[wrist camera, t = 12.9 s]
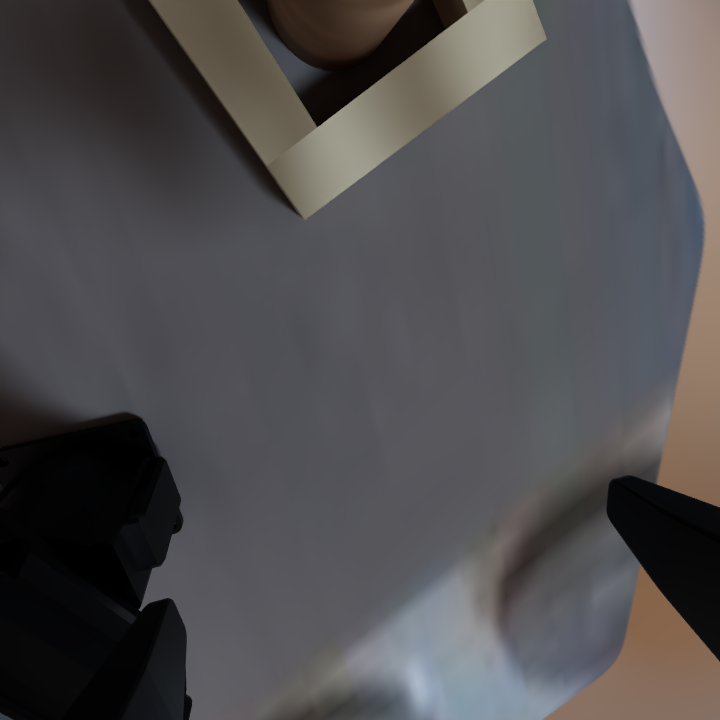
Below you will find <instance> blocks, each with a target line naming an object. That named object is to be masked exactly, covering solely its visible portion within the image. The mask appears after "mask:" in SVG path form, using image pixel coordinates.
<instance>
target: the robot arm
mask: <svg viewBox="0 0 720 720" xmlns="http://www.w3.org/2000/svg"><path fill="white" fill-rule="evenodd" d="M131 428H136V429H138V430H139V432H140V433H133V432H131V430H130V429H131ZM1 457H4V458H6V459H7V460H8V461H9V462H6V461H3V460H2V459H1ZM0 484H1V485H2V487H3V490H2V491H1V492H0V720H189V717H190V713H191V708H192V699H191V697H190V696H188V695H187V694H186V646H187V635H186V629H185V626H184V623H183V621H182V619H181V616H180V614H179V612H178V610H177V607H176V605H175V603H174V601H173V600H172V599H170V598H166V599H163V600H159V601H155V602H152V603H149V604H148V605H147V606H145V607H144V609H143V610H142V611H141V612H140V611H139V610H138V609H139V608H140V607H141V604H142V601H143V598H144V594H145V591H146V588H147V584H148V581H149V577H150V574H151V571H152V568H155V567H159V566H161V565H162V563H163V562H164V560H165V558H166V555H167V551H168V547H169V543H170V540H171V536H172V534H175V533H177V532H179V531H180V530H181V528H182V525H183V517H182V514H181V512H180V509H179V506H180V502H181V498H180V495H179V492H178V490H177V487H176V484H175V482H174V479H173V477H172V474H171V471H170V469H169V466H168V464H167V461H166V460H165V459H164V458H162V457H161V456H160V457H159V455H158V453H157V450H156V447H155V445H154V442H153V440H152V437H151V435H150V432H149V429H148V427H147V425H146V424H145V422H143V421H142V420H138V419H131V420H127V421H122V422H117V423H113V424H108V425H104V426H99V427H94V428H90V429H85V430H80V431H76V432H71V433H66V434H62V435H57V436H53V437H48V438H43V439H39V440H34V441H29V442H25V443H20V444H15V445H11V446H6V447H2V448H0ZM606 511H607V515H608V518H609V520H610V521H611V523H612V524H613V526H614V527H615V529H616V530H617V531H618V533H619V534H620V536H621V537H622V539H623V540H624V541H625V543H626V544H627V546H628V547H629V548H630V550H631V551H632V553H633V554H634V556H635V557H636V558H637V560H638V561H639V563H640V564H641V565H642V567H643V568H644V570H645V571H646V572H647V574H648V575H649V576H650V578H651V579H652V581H653V582H654V583H655V585H656V586H657V587H658V589H659V590H660V591H661V592H662V594H663V595H664V596H665V597H666V598H667V600H668V601H669V602H670V603H671V604H672V606H673V607H674V608H675V609H676V610H677V612H678V613H679V614H680V615H681V616H682V617H683V619H684V620H685V621H686V622H687V623H688V624H689V626H690V627H691V628H692V629H693V630H694V632H695V633H696V634H697V635H698V636H699V638H700V639H701V640H702V641H703V642H704V643H705V644H706V646H707V647H708V648H709V649H710V651H711V652H712V653H713V654H714V655H715V656H716V658H717V659H718V660H719V661H720V507H717V506H714V505H712V504H709V503H706V502H703V501H701V500H698V499H695V498H692V497H690V496H687V495H684V494H681V493H678V492H676V491H673V490H670V489H668V488H665V487H662V486H659V485H657V484H654V483H651V482H648V481H646V480H643V479H640V478H637V477H635V476H631V475H626V476H623V477H619V478H615V479H612V480H611V481H610V483H609V487H608V497H607V506H606ZM175 523H176V524H175Z"/></svg>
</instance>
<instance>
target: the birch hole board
mask: <svg viewBox="0 0 720 720" xmlns="http://www.w3.org/2000/svg"><path fill="white" fill-rule="evenodd" d="M148 1H149V2H150V4H151V5H152V7H153V8H154V10H155V11H156V12H157V14H158V15H159V17H160V18H161V19H162V21H163V22H164V24H165V25H166V27H167V28H168V29H169V31H170V32H171V34H172V35H173V37H174V38H175V39H176V41H177V42H178V44H179V45H180V46H181V48H182V49H183V51H184V52H185V54H186V55H187V56H188V58H189V59H190V61H191V62H192V63H193V65H194V66H195V68H196V69H197V71H198V72H199V73H200V75H201V76H202V78H203V79H204V80H205V82H206V83H207V85H208V86H209V88H210V89H211V90H212V92H213V93H214V95H215V96H216V98H217V99H218V100H219V102H220V103H221V105H222V106H223V107H224V109H225V110H226V112H227V113H228V115H229V116H230V117H231V119H232V120H233V122H234V123H235V124H236V126H237V127H238V129H239V130H240V132H241V133H242V134H243V136H244V137H245V139H246V140H247V141H248V143H249V144H250V146H251V147H252V149H253V150H254V151H255V153H256V154H257V156H258V157H259V159H260V160H261V161H262V163H263V164H264V166H265V167H266V168H267V170H268V171H269V173H270V174H271V176H272V177H273V178H274V180H275V181H276V183H277V184H278V185H279V187H280V188H281V190H282V191H283V193H284V194H285V195H286V197H287V198H288V200H289V201H290V202H291V204H292V205H293V207H294V208H295V210H296V211H297V212H298V214H299V215H300V217H301V218H303V219H304V220H305V219H307V218H308V217H309V216H311V215H312V214H313V213H315V212H316V211H318V210H319V209H320V208H322V207H323V206H324V205H326V204H327V203H328V202H330V201H331V200H332V199H334V198H335V197H336V196H338V195H339V194H340V193H342V192H343V191H344V190H346V189H347V188H348V187H350V186H351V185H352V184H354V183H355V182H356V181H358V180H359V179H360V178H362V177H363V176H364V175H366V174H367V173H368V172H370V171H371V170H372V169H374V168H375V167H376V166H378V165H379V164H380V163H382V162H383V161H384V160H386V159H387V158H388V157H390V156H391V155H392V154H394V153H395V152H396V151H398V150H399V149H400V148H402V147H403V146H404V145H406V144H407V143H408V142H410V141H411V140H412V139H414V138H415V137H416V136H418V135H419V134H420V133H422V132H423V131H424V130H426V129H427V128H428V127H430V126H431V125H432V124H434V123H435V122H436V121H438V120H439V119H440V118H442V117H443V116H444V115H446V114H447V113H448V112H450V111H451V110H452V109H454V108H455V107H456V106H458V105H459V104H460V103H462V102H463V101H464V100H466V99H467V98H468V97H470V96H471V95H472V94H474V93H475V92H476V91H478V90H479V89H480V88H482V87H483V86H484V85H486V84H487V83H488V82H490V81H491V80H492V79H494V78H495V77H496V76H498V75H499V74H500V73H502V72H503V71H504V70H506V69H507V68H508V67H510V66H511V65H512V64H514V63H515V62H516V61H518V60H519V59H520V58H522V57H523V56H524V55H526V54H527V53H529V52H530V51H531V50H533V49H534V48H535V47H537V46H538V45H539V44H541V43H542V42H543V41H545V40H546V39H547V38H546V36H545V33H544V30H543V27H542V25H541V22H540V19H539V17H538V14H537V11H536V8H535V6H534V3H533V0H432V1H433V4H434V6H435V8H436V10H437V12H438V14H439V17H440V19H441V21H442V23H443V25H444V28H445V31H443V32H442V33H441V34H439V35H438V36H437V37H436V38H434V39H433V40H432V41H430V42H429V43H428V44H426V45H425V46H424V47H422V48H421V49H420V50H418V51H417V52H416V53H414V54H413V55H412V56H411V57H409V58H408V59H407V60H405V61H404V62H403V63H401V64H400V65H399V66H397V67H396V68H395V69H393V70H392V71H391V72H390V73H388V74H387V75H386V76H384V77H383V78H382V79H380V80H379V81H378V82H376V83H375V84H374V85H372V86H371V87H370V88H369V89H367V90H366V91H365V92H363V93H362V94H361V95H359V96H358V97H357V98H355V99H354V100H353V101H351V102H350V103H349V104H348V105H346V106H345V107H344V108H342V109H341V110H340V111H338V112H337V113H336V114H334V115H333V116H332V117H330V118H329V119H328V120H326V121H325V122H324V123H323V124H321V125H320V126H319V127H317V126H316V125H315V123H314V121H313V120H312V118H311V117H310V115H309V113H308V112H307V110H306V109H305V107H304V105H303V104H302V102H301V101H300V99H299V97H298V96H297V94H296V93H295V91H294V89H293V88H292V86H291V85H290V83H289V81H288V80H287V78H286V77H285V75H284V73H283V72H282V70H281V69H280V67H279V65H278V64H277V62H276V61H275V59H274V57H273V56H272V54H271V53H270V51H269V49H268V48H267V46H266V45H265V43H264V42H263V40H262V38H261V37H260V35H259V34H258V32H257V30H256V29H255V27H254V26H253V24H252V22H251V21H250V19H249V18H248V16H247V14H246V13H245V11H244V10H243V8H242V6H241V5H240V3H239V2H238V0H148Z"/></svg>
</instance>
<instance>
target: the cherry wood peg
mask: <svg viewBox="0 0 720 720" xmlns="http://www.w3.org/2000/svg"><path fill="white" fill-rule="evenodd" d="M266 1H267V6H268V10H269V14H270V17H271V20H272V22H273V25H274V27H275V29H276V31H277V33H278V35H279V36H280V38H281V39H282V41H283V42H284V44H285V45H286V46H287V47H288V49H289V50H290V51H291V52H292V53H293V54H294V55H296V56H297V57H298V58H299V59H301V60H302V61H304V62H305V63H307V64H309V65H311V66H313V67H315V68H318V69H322V70H328V71H341V70H346V69H349V68H352V67H355V66H357V65H358V64H360V63H362V62H363V61H364V60H366V59H367V58H368V57H369V56H370V55H371V54H372V53H373V52H374V51H375V50H376V48H377V47H378V46H379V45H380V43H381V42H382V41H383V40H384V38H385V37H386V36H387V34H388V33H389V32H390V31H391V29H392V28H393V27H394V26H395V24H396V23H397V22H398V21H399V19H400V18H401V17H402V15H403V14H404V13H405V12H406V10H407V9H408V8H409V7H410V5H411V4H412V3H413V2H414V0H266Z"/></svg>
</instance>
